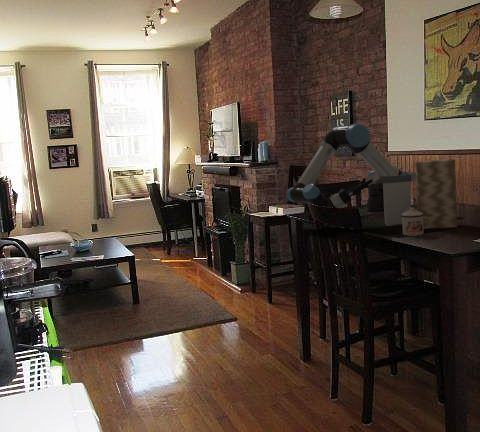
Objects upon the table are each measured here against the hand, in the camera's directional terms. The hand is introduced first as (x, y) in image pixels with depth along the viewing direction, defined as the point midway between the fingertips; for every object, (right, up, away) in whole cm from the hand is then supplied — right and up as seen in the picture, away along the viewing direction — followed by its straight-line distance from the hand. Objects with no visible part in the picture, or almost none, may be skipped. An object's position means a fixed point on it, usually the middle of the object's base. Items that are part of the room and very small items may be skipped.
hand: (378, 174), depth 253 cm
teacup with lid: (+10, -28, -27) cm, 40 cm away
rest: (+10, -24, +2) cm, 26 cm away
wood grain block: (+23, -25, -14) cm, 37 cm away
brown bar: (+7, -4, -1) cm, 8 cm away
